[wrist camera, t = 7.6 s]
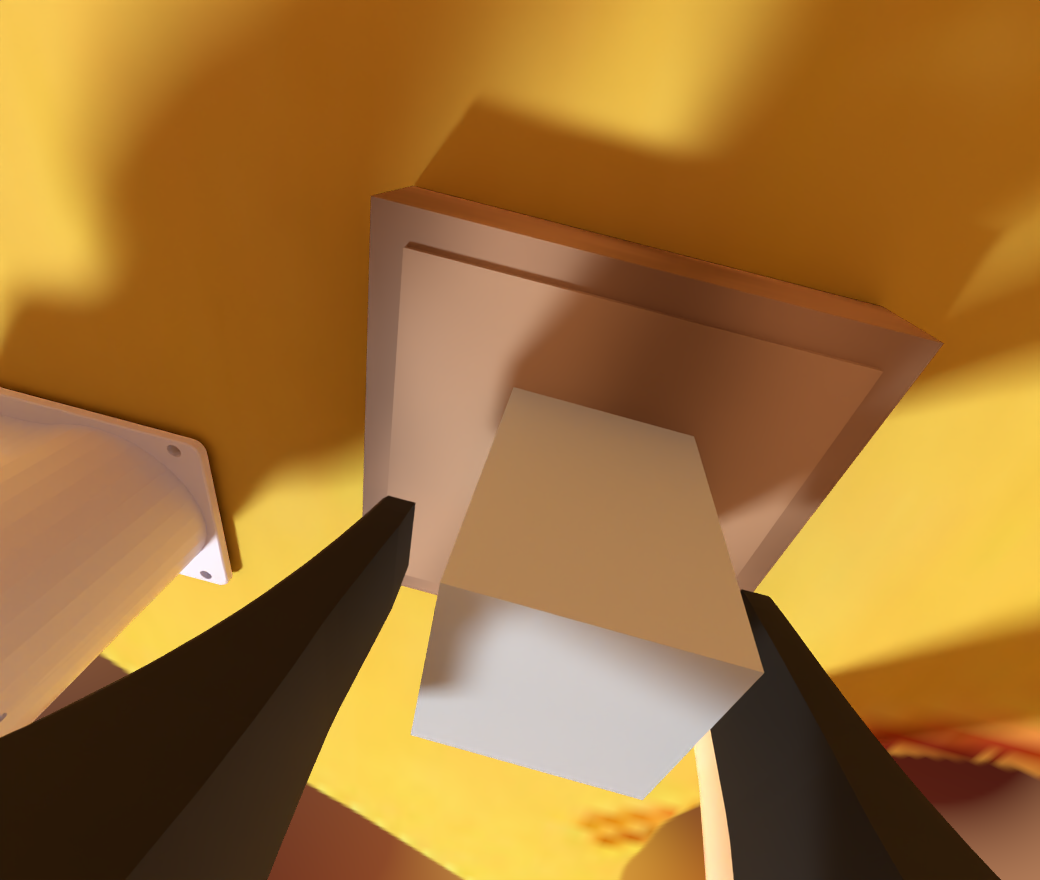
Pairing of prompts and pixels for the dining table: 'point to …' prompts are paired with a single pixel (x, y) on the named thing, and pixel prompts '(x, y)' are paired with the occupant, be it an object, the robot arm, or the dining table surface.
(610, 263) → the walnut plinth
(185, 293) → the dining table surface
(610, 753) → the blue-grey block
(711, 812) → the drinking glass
